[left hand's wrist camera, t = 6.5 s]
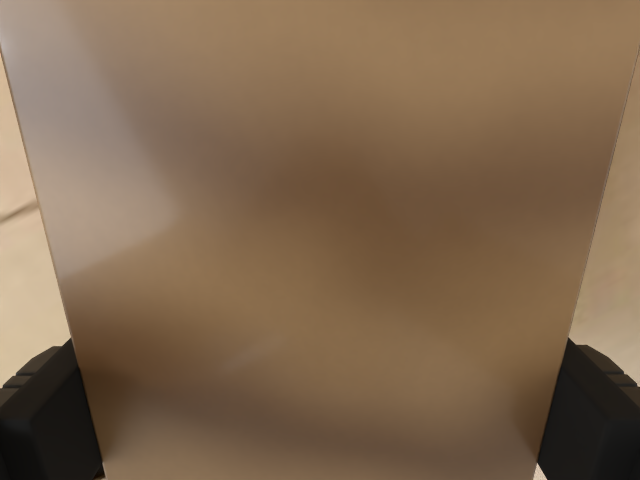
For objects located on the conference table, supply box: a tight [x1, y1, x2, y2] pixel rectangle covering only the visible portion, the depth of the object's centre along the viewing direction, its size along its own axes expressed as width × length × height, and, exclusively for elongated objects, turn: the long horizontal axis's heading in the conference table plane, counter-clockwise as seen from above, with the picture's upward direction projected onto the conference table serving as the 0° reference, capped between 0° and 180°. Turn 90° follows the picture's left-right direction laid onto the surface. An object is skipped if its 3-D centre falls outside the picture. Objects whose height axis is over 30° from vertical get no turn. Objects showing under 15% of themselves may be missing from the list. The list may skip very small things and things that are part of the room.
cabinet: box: [0, 0, 640, 480], centre depth 12 cm, size 19×10×11 cm, turn 0°
